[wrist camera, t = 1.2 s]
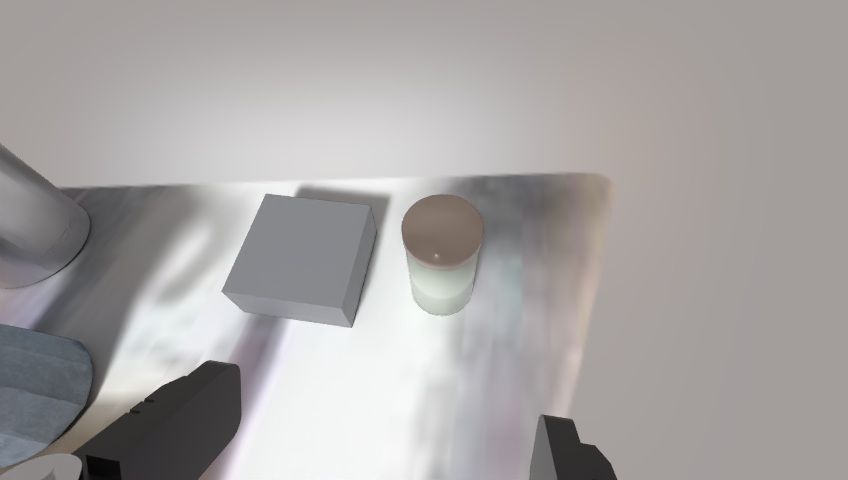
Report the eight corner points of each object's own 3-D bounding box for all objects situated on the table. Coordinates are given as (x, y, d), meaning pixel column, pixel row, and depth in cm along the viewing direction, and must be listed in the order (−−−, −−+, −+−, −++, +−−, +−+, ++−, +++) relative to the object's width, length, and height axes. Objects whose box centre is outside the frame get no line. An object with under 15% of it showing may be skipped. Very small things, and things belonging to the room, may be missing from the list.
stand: (244, 311, 33) (221, 291, 29) (281, 220, 37) (265, 193, 34) (351, 327, 32) (341, 308, 28) (376, 231, 36) (370, 205, 33)
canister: (404, 312, 32) (394, 257, 25) (416, 255, 35) (409, 190, 27) (470, 321, 32) (479, 268, 24) (476, 263, 34) (486, 199, 27)
